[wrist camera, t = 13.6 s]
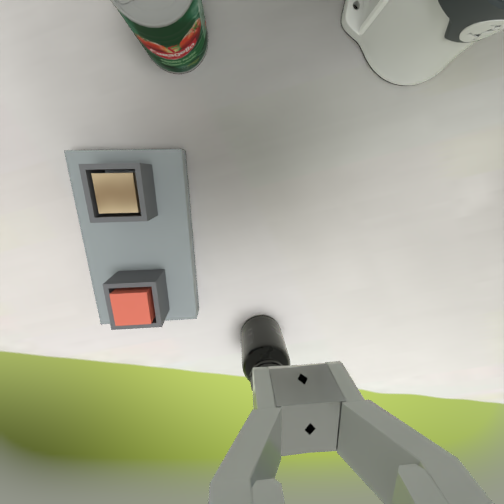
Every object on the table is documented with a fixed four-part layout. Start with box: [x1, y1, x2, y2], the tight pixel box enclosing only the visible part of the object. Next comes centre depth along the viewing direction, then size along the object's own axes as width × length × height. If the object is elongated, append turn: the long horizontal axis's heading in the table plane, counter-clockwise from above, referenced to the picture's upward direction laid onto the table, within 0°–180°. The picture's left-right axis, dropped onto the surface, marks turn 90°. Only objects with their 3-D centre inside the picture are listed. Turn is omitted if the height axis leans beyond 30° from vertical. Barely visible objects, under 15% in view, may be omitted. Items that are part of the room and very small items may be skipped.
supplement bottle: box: [241, 316, 290, 391], centre depth 38 cm, size 7×7×12 cm
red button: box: [109, 287, 156, 326], centre depth 34 cm, size 4×4×4 cm
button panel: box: [64, 149, 199, 330], centre depth 34 cm, size 24×14×8 cm, turn 1°
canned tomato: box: [111, 0, 208, 74], centre depth 26 cm, size 8×8×11 cm
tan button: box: [91, 173, 141, 214], centre depth 31 cm, size 4×4×4 cm
